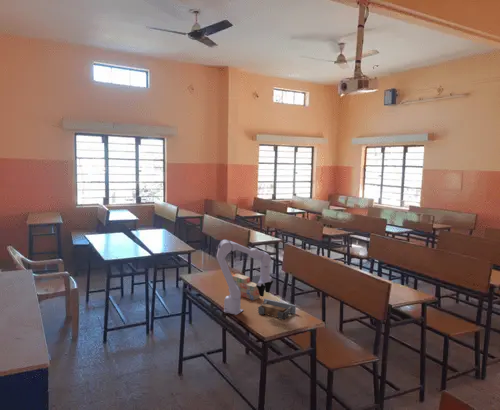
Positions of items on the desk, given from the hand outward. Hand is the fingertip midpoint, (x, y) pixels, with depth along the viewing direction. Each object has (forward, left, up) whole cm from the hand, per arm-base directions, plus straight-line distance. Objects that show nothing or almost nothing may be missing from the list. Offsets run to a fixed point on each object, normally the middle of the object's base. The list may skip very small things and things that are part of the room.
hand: (264, 294), depth 234 cm
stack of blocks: (-23, +15, -10) cm, 29 cm away
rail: (+8, -4, -10) cm, 13 cm away
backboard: (+8, +2, -10) cm, 13 cm away
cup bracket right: (+14, -4, -10) cm, 18 cm away
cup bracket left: (+2, -4, -10) cm, 11 cm away
